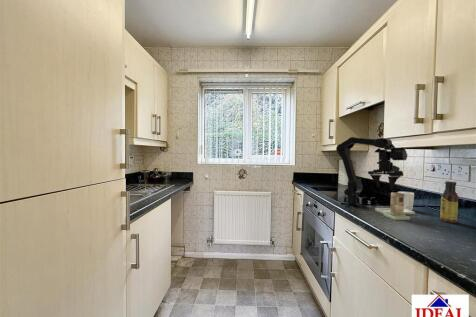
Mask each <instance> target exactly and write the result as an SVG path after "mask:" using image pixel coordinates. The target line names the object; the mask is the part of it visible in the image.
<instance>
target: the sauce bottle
mask: <svg viewBox="0 0 476 317" xmlns="http://www.w3.org/2000/svg"><path fill="white" fill-rule="evenodd" d="M444 184H445V185H444V190H443V193H442V195H441V197H440V198H441V199H440V212H439V213H440V214H439V216H440V217H439V218H440V220H441V222H444V223H445V222H446V223H451V224H456V223H457V220H458V210H459V208H458V207H459V195H458V193H457V190H456V186H457V181H454V180H445V182H444Z"/></svg>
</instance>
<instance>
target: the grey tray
mask: <svg viewBox="0 0 476 317" xmlns="http://www.w3.org/2000/svg"><path fill="white" fill-rule="evenodd" d="M403 215H406V216H412V215H413V216H415V215H416V211H413V210H412V211H410V210H407V209H404V213H403Z"/></svg>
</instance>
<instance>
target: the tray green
mask: <svg viewBox="0 0 476 317" xmlns="http://www.w3.org/2000/svg"><path fill="white" fill-rule="evenodd" d="M383 216H385V217H386V218H389V219H392V220H393V221H411V216H410V215H403V217H395V216H392V215H390V213H384V214H383Z"/></svg>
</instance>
